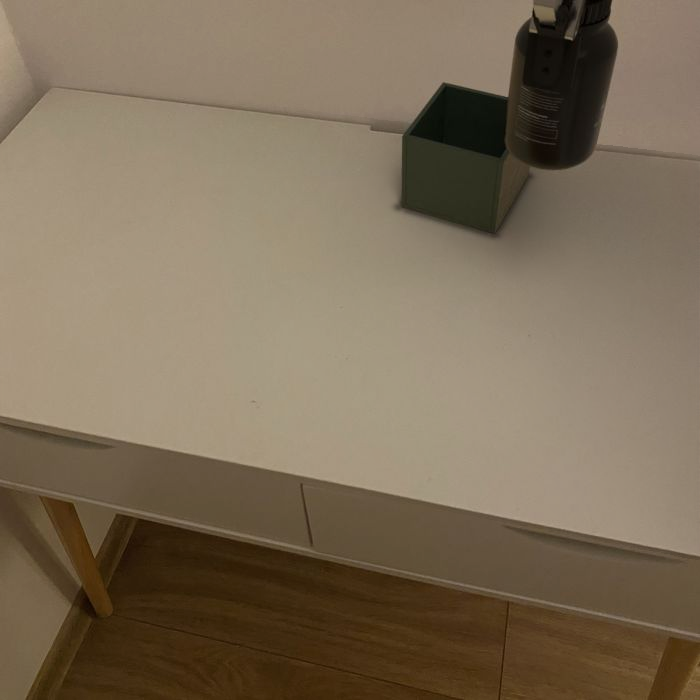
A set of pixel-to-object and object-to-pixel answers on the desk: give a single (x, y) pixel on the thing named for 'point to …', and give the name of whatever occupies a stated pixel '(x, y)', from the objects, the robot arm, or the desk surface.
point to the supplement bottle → (562, 98)
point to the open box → (461, 159)
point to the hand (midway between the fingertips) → (563, 57)
